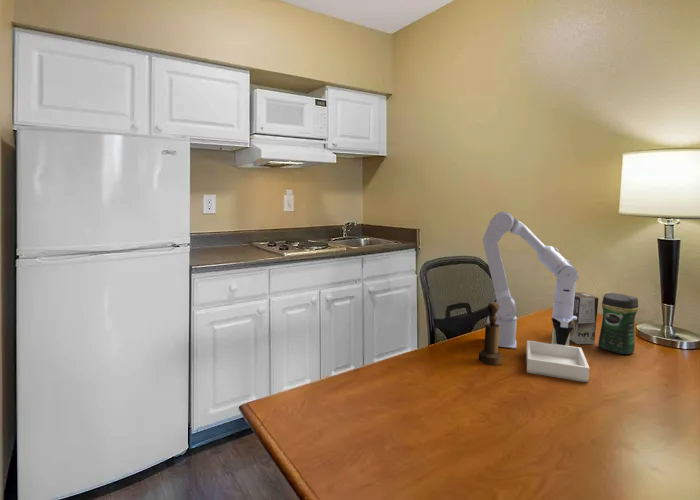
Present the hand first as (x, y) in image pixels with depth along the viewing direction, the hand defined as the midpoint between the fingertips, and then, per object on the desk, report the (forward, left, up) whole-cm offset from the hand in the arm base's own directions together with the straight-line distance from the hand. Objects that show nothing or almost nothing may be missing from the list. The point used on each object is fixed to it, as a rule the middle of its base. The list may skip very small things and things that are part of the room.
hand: (560, 343), depth 132 cm
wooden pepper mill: (-20, -19, -3) cm, 28 cm away
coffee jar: (+17, +9, -3) cm, 19 cm away
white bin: (-2, -15, -3) cm, 15 cm away
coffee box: (+7, +15, -3) cm, 17 cm away
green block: (0, 0, -2) cm, 2 cm away
